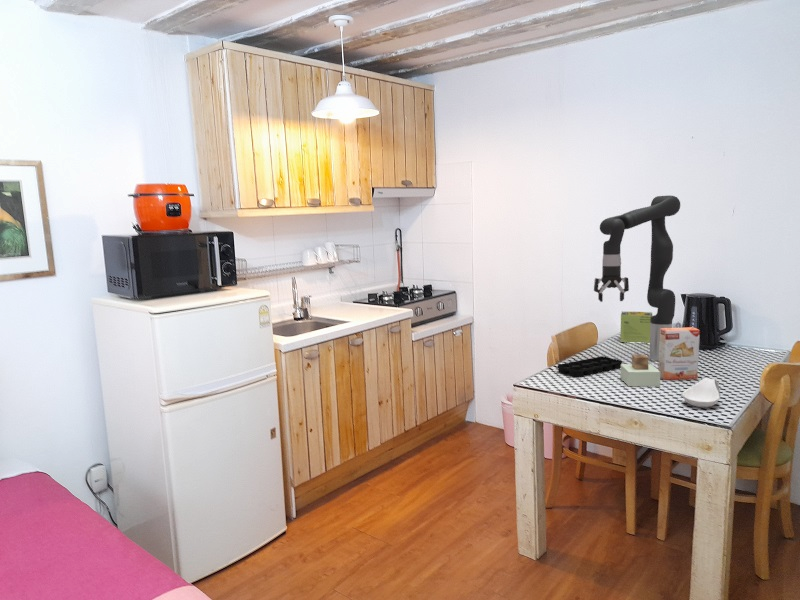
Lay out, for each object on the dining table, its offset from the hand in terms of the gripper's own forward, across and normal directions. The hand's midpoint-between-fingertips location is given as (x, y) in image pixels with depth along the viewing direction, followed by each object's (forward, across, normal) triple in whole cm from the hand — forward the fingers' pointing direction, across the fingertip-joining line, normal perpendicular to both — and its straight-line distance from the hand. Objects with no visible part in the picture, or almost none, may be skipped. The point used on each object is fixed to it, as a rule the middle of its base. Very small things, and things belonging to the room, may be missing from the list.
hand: (611, 301), depth 251 cm
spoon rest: (+31, -22, +46) cm, 60 cm away
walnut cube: (+24, -6, +23) cm, 34 cm away
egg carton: (+31, +10, +4) cm, 32 cm away
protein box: (+30, -26, -52) cm, 66 cm away
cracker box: (+30, -23, +17) cm, 42 cm away
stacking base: (+30, -6, +23) cm, 38 cm away
